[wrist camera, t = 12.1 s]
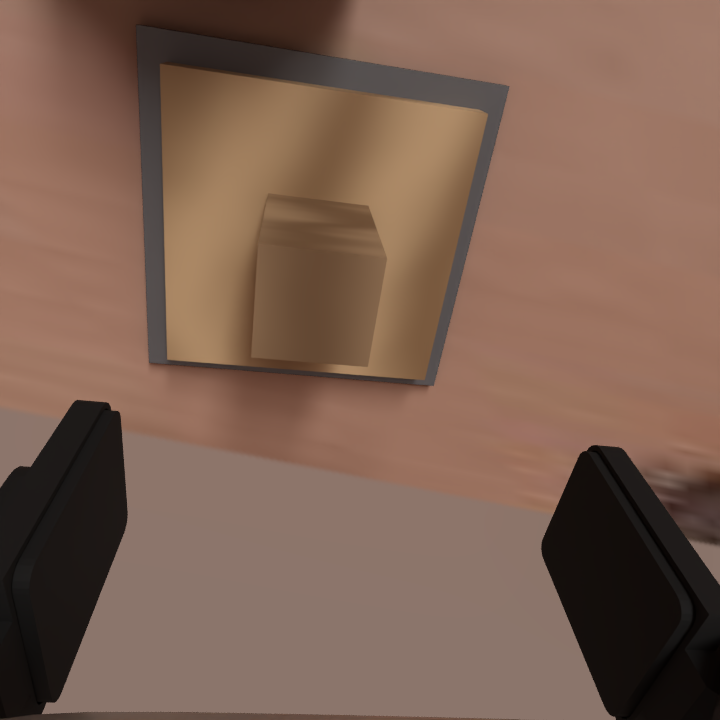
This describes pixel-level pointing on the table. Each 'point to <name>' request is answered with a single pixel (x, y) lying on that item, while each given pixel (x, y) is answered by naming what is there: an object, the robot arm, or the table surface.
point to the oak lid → (308, 221)
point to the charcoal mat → (305, 69)
